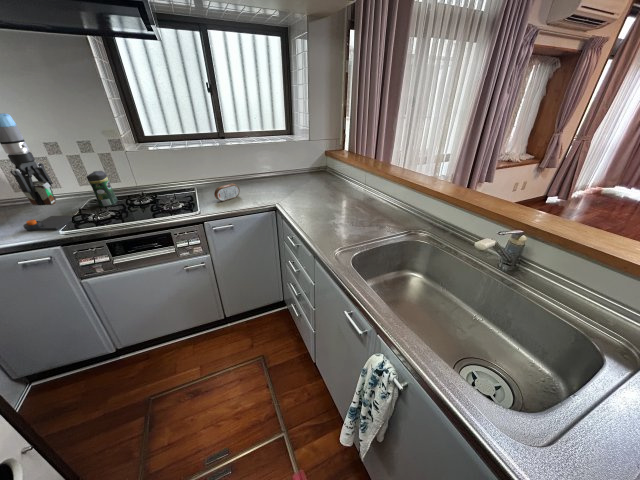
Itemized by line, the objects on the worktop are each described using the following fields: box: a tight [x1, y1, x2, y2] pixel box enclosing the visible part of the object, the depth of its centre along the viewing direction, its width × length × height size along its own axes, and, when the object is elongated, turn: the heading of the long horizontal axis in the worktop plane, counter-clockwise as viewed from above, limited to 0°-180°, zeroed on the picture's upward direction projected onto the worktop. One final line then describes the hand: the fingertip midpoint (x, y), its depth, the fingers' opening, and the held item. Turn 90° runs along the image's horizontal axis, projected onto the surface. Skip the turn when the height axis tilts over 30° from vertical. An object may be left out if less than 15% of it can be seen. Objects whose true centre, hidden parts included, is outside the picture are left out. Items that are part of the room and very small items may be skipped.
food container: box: [17, 180, 57, 206], centre depth 125 cm, size 12×6×10 cm, turn 90°
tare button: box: [25, 219, 37, 225], centre depth 125 cm, size 3×3×2 cm
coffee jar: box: [86, 170, 118, 208], centre depth 148 cm, size 10×8×19 cm
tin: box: [213, 183, 241, 202], centre depth 155 cm, size 15×3×8 cm, turn 136°
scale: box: [22, 214, 76, 232], centre depth 130 cm, size 15×15×3 cm
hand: (47, 202), depth 127 cm, fingers closed on food container, 5 cm apart
